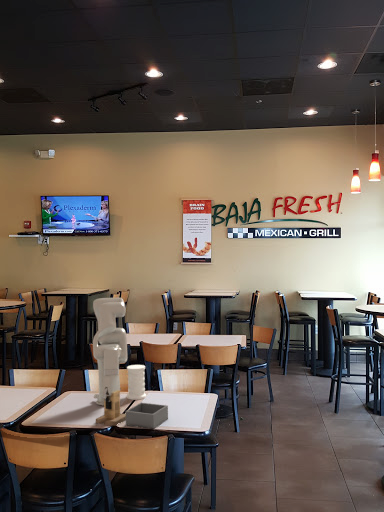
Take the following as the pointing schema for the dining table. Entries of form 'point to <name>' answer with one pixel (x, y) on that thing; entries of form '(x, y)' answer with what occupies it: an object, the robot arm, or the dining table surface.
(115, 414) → the oak strut
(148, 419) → the charcoal bin
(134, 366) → the decorative container
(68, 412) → the dining table surface
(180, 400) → the dining table surface
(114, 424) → the stud block
